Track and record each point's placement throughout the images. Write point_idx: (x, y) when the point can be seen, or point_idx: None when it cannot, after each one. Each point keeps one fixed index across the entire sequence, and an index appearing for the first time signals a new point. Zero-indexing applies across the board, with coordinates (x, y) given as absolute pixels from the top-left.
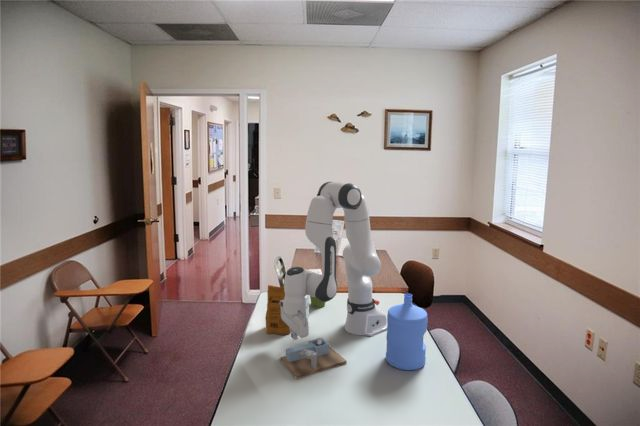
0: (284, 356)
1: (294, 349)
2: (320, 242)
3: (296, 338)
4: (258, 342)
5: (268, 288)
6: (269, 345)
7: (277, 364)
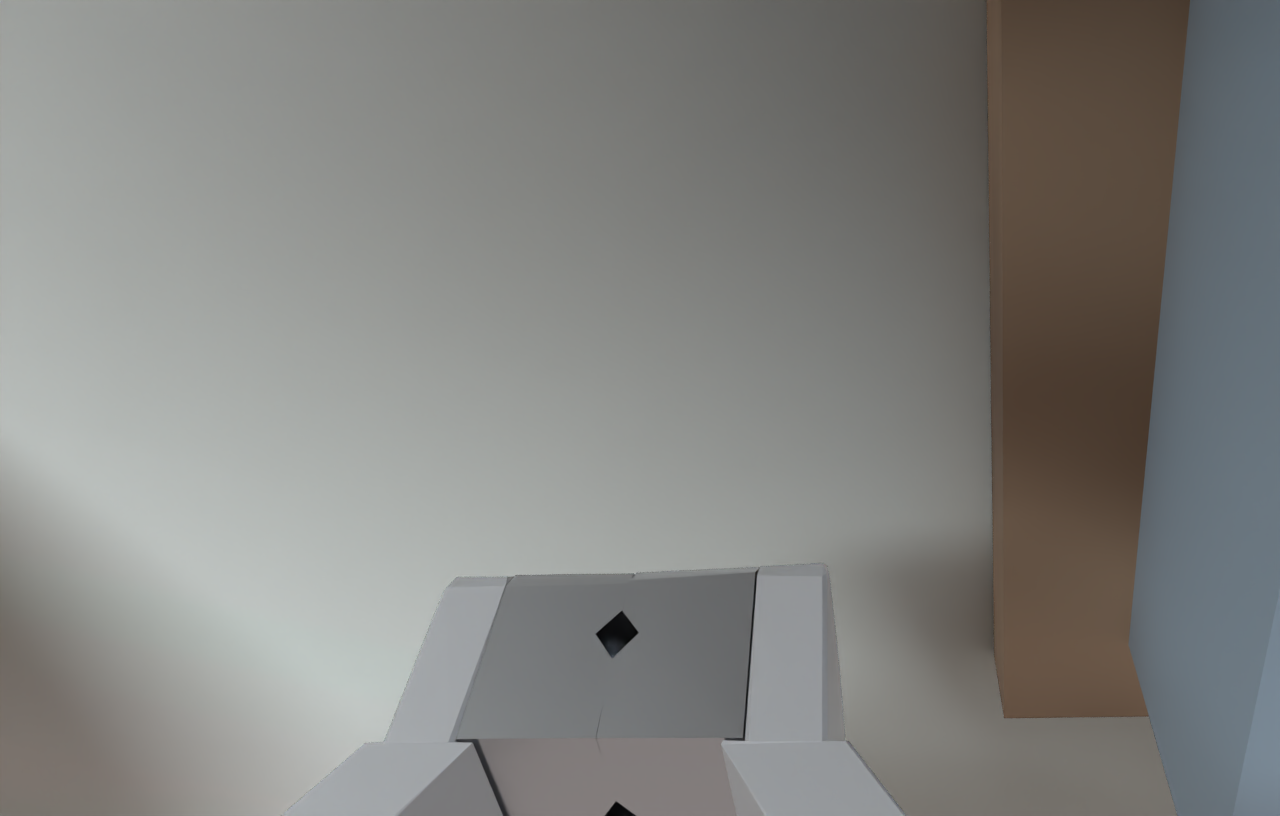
0: (1020, 641)
1: None
2: None
3: (832, 630)
4: (95, 754)
5: None
6: (234, 646)
7: (1149, 742)
